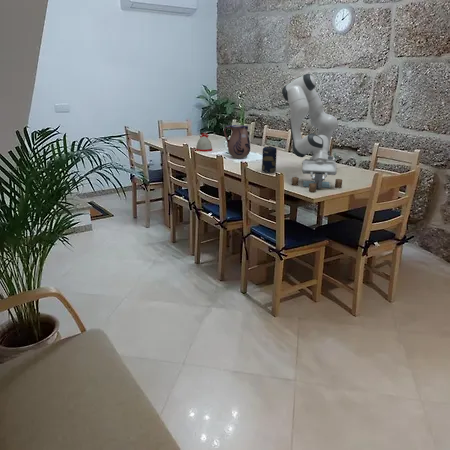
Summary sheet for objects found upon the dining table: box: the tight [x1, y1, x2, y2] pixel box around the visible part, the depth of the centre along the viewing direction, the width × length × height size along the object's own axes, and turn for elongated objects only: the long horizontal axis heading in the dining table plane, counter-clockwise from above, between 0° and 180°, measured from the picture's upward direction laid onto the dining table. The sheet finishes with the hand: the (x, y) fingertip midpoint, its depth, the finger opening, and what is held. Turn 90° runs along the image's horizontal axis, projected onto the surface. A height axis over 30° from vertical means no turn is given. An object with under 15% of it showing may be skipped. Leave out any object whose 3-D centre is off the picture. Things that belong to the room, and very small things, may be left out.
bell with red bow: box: [195, 132, 213, 153], centre depth 366 cm, size 14×14×15 cm
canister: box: [261, 145, 278, 174], centre depth 291 cm, size 10×10×18 cm
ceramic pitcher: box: [223, 124, 251, 160], centre depth 335 cm, size 18×21×25 cm
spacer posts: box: [291, 176, 343, 193], centre depth 254 cm, size 17×30×4 cm, turn 81°
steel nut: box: [313, 173, 324, 189], centre depth 252 cm, size 5×4×8 cm
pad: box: [302, 180, 331, 189], centre depth 263 cm, size 12×16×1 cm
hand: (318, 179), depth 252 cm, fingers closed on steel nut, 5 cm apart
